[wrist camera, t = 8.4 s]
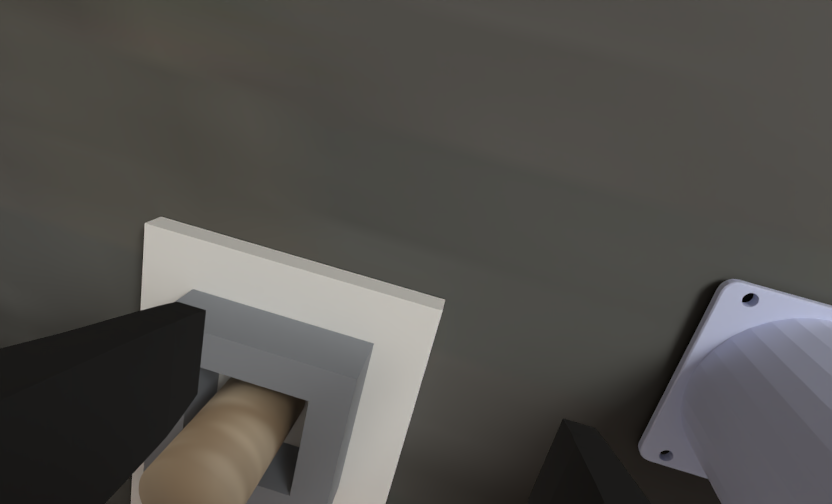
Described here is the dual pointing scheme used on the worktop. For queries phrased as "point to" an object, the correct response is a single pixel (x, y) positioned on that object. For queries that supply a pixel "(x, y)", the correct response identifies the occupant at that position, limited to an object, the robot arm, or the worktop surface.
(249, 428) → the peg
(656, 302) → the worktop surface
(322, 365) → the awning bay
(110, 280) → the worktop surface
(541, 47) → the worktop surface
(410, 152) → the worktop surface
